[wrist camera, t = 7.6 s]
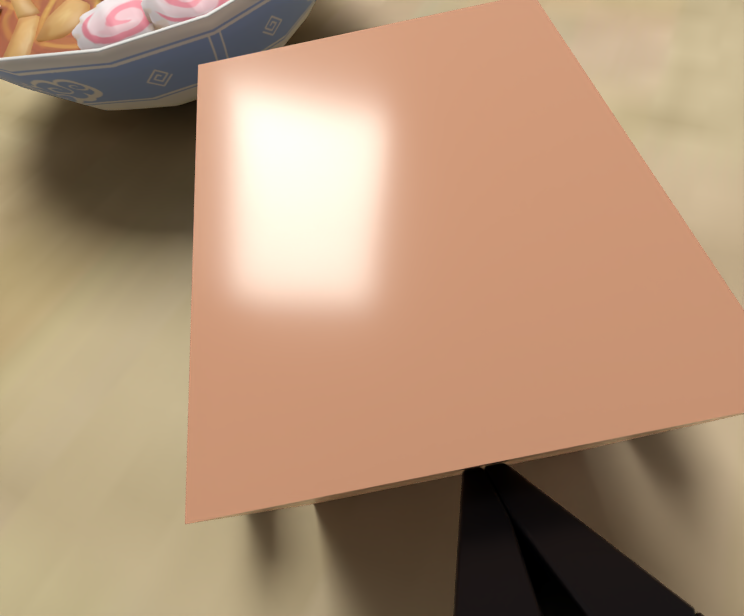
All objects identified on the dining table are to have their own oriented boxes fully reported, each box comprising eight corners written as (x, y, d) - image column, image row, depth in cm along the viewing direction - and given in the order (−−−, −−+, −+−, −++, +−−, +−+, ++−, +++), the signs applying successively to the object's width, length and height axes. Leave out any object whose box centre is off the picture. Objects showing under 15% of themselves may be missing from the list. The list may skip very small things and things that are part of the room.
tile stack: (580, 450, 14) (804, 400, 6) (314, 503, 14) (185, 524, 6) (482, 200, 19) (532, -7, 11) (287, 241, 19) (198, 64, 11)
